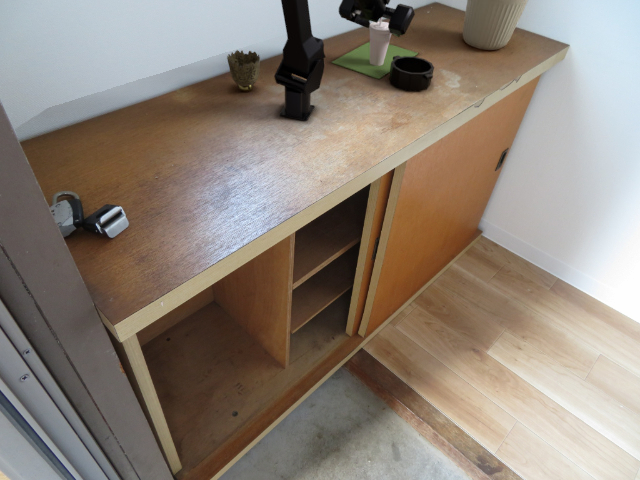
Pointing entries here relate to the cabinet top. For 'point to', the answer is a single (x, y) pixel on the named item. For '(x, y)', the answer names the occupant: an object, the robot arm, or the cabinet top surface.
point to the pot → (410, 73)
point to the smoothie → (378, 41)
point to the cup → (244, 69)
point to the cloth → (361, 60)
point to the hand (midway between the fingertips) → (383, 30)
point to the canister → (491, 22)
